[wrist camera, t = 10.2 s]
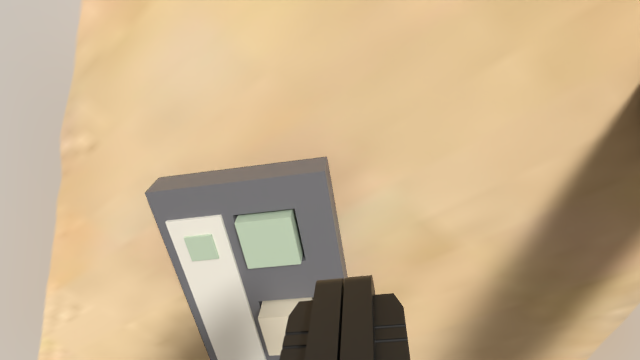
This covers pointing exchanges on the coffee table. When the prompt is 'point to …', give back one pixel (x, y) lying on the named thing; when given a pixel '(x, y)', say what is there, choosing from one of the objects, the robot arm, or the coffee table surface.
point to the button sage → (270, 238)
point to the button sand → (276, 321)
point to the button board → (226, 252)
